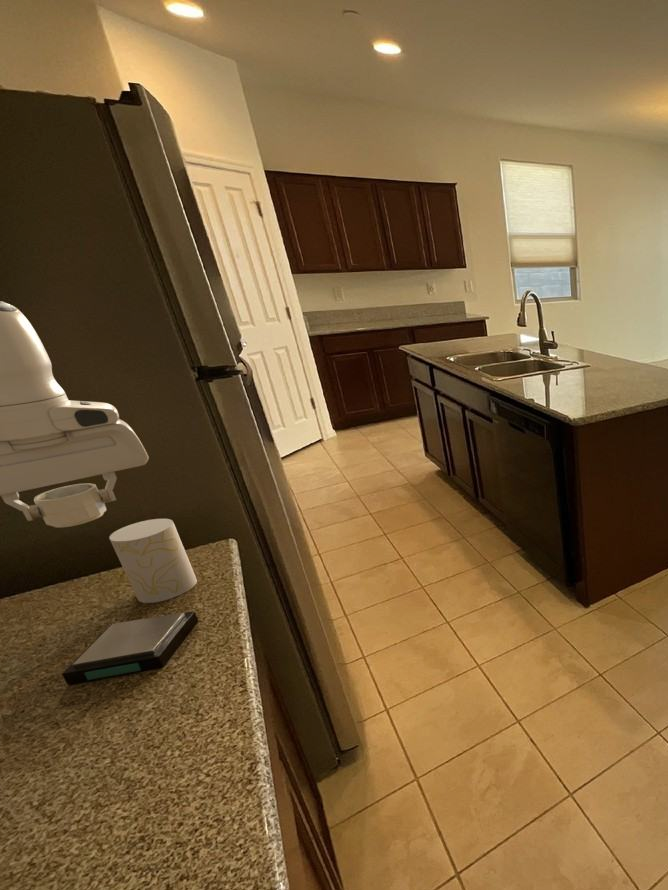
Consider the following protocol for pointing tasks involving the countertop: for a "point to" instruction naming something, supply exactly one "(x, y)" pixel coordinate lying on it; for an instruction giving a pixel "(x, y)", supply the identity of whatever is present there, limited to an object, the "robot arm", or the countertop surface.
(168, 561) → the cup
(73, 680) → the scale
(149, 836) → the countertop surface
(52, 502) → the bowl
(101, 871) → the countertop surface
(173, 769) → the countertop surface
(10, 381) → the robot arm
